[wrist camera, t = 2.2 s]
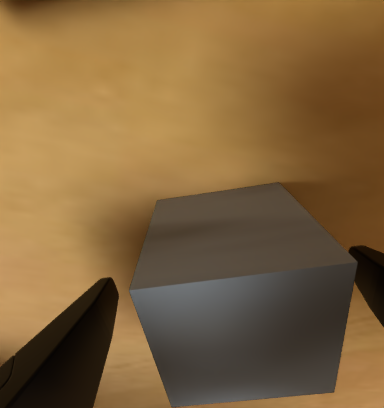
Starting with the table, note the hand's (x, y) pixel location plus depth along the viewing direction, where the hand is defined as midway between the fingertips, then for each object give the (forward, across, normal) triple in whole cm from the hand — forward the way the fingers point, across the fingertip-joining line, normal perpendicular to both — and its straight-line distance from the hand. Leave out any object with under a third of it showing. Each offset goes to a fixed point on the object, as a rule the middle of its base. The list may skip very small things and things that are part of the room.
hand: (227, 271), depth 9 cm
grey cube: (+2, 0, 0) cm, 2 cm away
